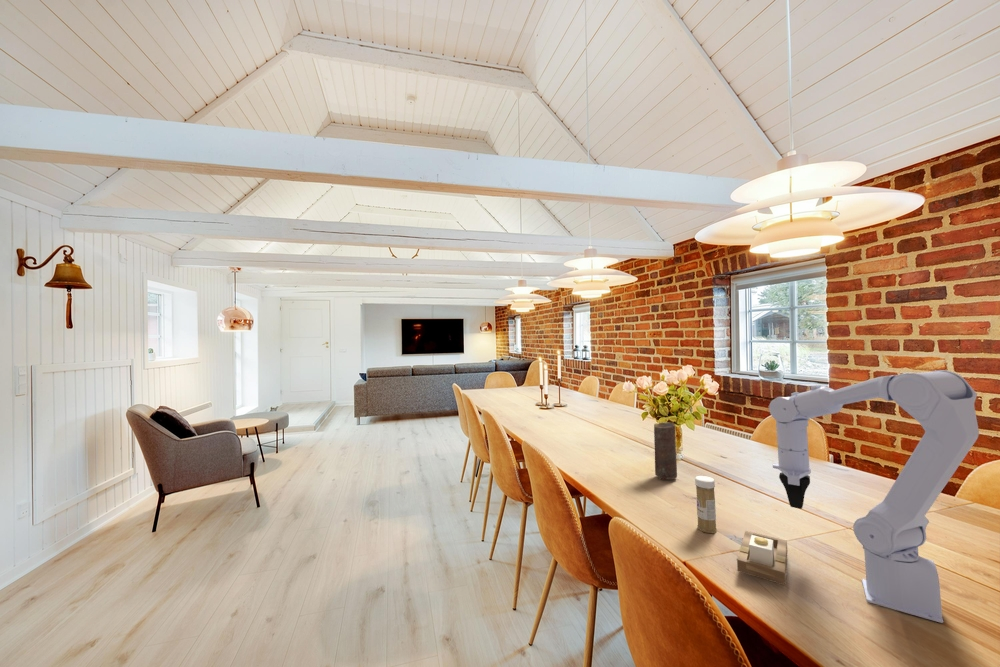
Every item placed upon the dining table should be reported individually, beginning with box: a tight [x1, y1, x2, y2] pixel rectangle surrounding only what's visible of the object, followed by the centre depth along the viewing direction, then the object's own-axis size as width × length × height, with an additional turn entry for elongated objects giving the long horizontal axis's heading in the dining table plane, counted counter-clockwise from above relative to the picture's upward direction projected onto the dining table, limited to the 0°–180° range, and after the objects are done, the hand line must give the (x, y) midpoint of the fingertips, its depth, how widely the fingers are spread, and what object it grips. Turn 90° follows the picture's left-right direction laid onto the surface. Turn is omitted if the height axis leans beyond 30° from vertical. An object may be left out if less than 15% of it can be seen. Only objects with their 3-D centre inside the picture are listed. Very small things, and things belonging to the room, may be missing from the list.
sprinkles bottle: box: [694, 475, 718, 534], centre depth 99 cm, size 5×5×14 cm
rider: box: [749, 535, 774, 567], centre depth 81 cm, size 5×4×4 cm
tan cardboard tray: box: [736, 530, 788, 585], centre depth 83 cm, size 15×8×4 cm, turn 141°
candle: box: [653, 421, 678, 480], centre depth 137 cm, size 8×7×20 cm
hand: (796, 506), depth 88 cm, fingers closed
